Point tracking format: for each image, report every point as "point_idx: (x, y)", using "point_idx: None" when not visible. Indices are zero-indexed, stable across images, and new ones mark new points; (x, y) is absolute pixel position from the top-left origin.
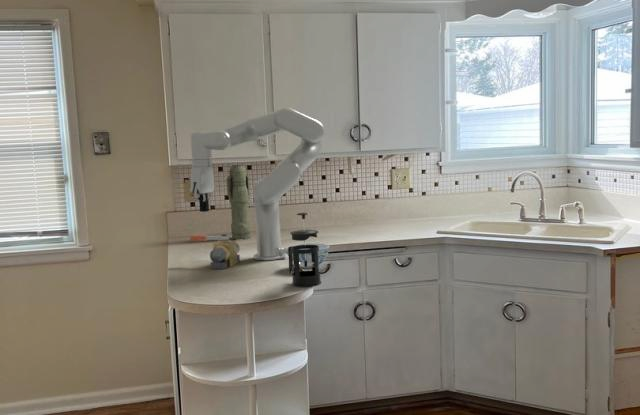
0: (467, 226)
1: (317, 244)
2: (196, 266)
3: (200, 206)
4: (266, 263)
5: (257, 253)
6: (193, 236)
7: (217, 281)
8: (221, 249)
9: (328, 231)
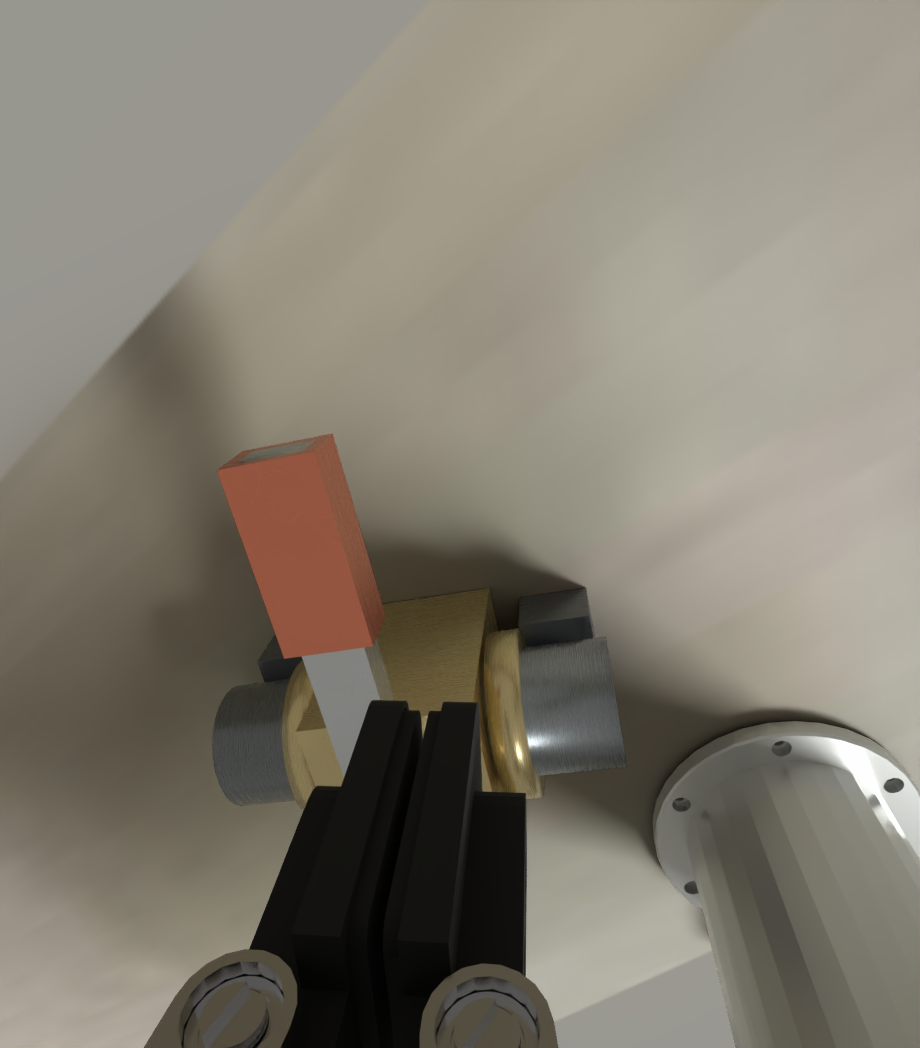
0: None
1: None
2: None
3: (297, 842)
4: (570, 878)
5: (731, 794)
6: (236, 516)
7: (36, 841)
8: (279, 799)
9: None
